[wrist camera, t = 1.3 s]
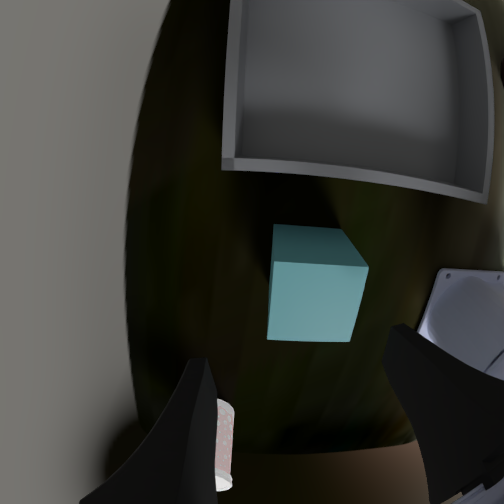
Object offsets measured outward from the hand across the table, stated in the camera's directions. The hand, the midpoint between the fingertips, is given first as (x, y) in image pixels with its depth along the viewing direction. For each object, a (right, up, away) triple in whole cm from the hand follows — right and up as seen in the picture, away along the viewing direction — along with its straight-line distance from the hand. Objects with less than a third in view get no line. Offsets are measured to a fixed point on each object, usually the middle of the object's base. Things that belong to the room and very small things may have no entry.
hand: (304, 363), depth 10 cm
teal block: (+2, +4, +9) cm, 10 cm away
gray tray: (+5, +16, +4) cm, 17 cm away
